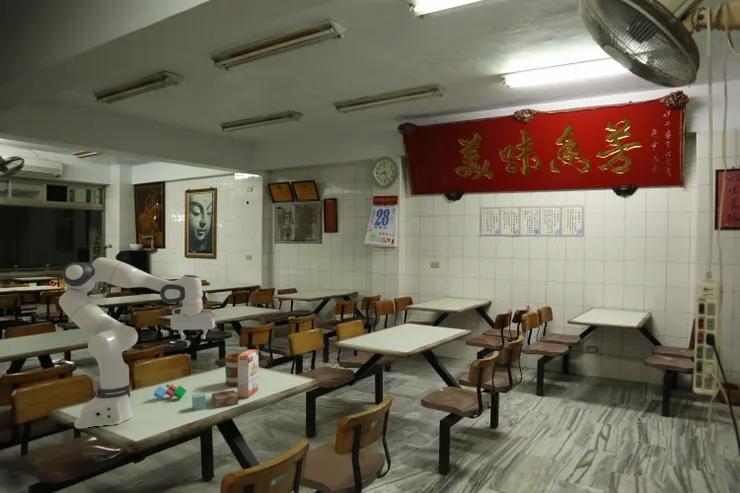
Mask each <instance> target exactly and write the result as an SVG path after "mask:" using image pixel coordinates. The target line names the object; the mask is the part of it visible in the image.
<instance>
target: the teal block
mask: <svg viewBox="0 0 740 493" xmlns="http://www.w3.org/2000/svg"><path fill="white" fill-rule="evenodd" d="M206 401H207V400H206V394H205V393H204V392H201V393H200V392H199V393H195V394H191V402H192V405H191V406H192V409H193V411H201V410H205V409H207V408H206V407H207V406H206Z"/></svg>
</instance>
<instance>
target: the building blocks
mask: <svg viewBox="0 0 740 493" xmlns="http://www.w3.org/2000/svg"><path fill="white" fill-rule="evenodd" d="M165 387H166V388H168V389H165V388H163V386H160V385H159V386H158V387H157V389H156V390H155V391H154V393H153V396H154V397H155V398H156V399H158V400H162V399H163V398H164V397H165V395H167V396H168V397H170V398H172V399H173V398H174V397H176V398H177V399H179V400H181V399H182V398H183V396H184V395H185V394H186V392H187V389H185V388H184V387H182V385H178V386H175V385H174V384H169V383H167V384H165Z"/></svg>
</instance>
